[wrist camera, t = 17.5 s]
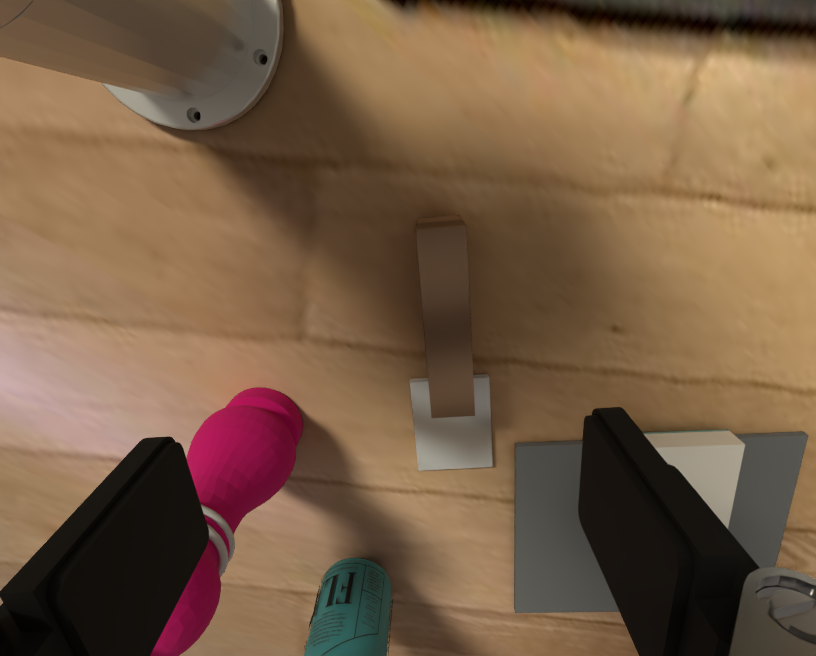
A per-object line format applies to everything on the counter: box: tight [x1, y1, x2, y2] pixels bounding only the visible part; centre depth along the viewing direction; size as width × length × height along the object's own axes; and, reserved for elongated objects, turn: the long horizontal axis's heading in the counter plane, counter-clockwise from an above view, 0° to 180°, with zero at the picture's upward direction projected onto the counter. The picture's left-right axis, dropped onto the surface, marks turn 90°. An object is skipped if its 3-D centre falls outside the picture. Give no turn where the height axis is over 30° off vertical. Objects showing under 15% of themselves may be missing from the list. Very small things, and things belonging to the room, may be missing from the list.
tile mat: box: [514, 432, 808, 613], centre depth 38 cm, size 18×22×1 cm
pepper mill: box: [150, 388, 303, 656], centre depth 27 cm, size 7×7×20 cm
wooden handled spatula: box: [410, 215, 492, 471], centre depth 31 cm, size 20×6×6 cm, turn 5°
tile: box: [643, 429, 745, 529], centre depth 36 cm, size 2×10×9 cm
